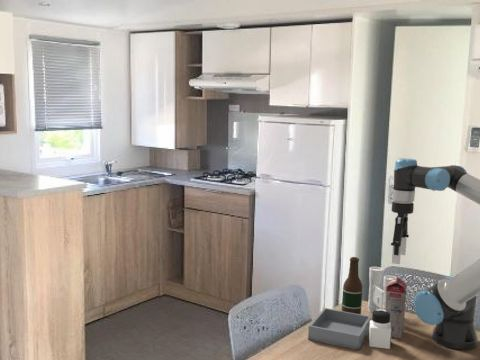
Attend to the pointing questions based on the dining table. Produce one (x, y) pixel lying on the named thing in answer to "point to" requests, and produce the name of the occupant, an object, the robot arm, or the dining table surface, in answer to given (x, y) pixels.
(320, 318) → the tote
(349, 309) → the beer bottle
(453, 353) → the dining table surface
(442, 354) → the dining table surface
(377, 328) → the medicine bottle
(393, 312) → the juice carton
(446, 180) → the robot arm
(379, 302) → the binoculars
